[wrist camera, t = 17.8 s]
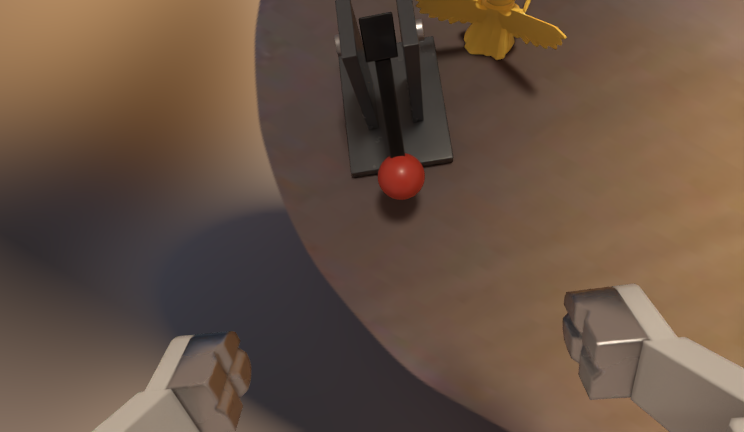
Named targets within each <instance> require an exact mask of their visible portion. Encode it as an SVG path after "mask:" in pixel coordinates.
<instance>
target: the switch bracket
mask: <svg viewBox="0 0 744 432" xmlns="http://www.w3.org/2000/svg"><path fill="white" fill-rule="evenodd" d="M396 2H397V10H398V18H399V26H400V34H401V41H402V42H399V43H396V44H397V50H398V57H395V58H390V59H391V64H392V70H393V77H394V84H395V90H396V97H397V103H398V110H399V117H400V123H401V130H402V137H403V143H404V150H405V153H407V154H410V155H412V156H414V157H415V158H417V159H418V160H419V161H420V163H421V164H422V166H423V167H424V166H430V165H437V164H443V163H449V162H453V153H452V147H451V141H450V135H449V129H448V123H447V117H446V111H445V105H444V99H443V93H442V87H441V81H440V75H439V69H438V62H437V56H436V50H435V44H434V38H433V36H431V37H425V38H424V30H423V23H422V19H416V20H415V15H414V9H413V2H412V0H396ZM335 3H336V13H337V22H338V31H339V35H335V37H334V39H335V46H336V51H337V54H338V56H339V66H340V75H341V84H342V93H343V102H344V112H345V121H346V130H347V139H348V148H349V158H350V167H351V174H352V175H353V177H359V176H366V175H372V174H378V171H379V168H380V165H381V164H382V162H383V161H384V160H385V159H386V158H387V157H389V156H390V151H389V145H388V139H387V133H386V127H385V121H384V115H383V109H382V103H381V97H380V91H379V84H378V78H377V72H376V66H375V61H374V62H368V63H367V62H366V59H365V53H364V47H363V44H362V40H361V36H360V33H359V29H358V26H357V22H356V18H355V15H354V11H353V8H352V4H351V0H336V1H335Z"/></svg>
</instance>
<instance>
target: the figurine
mask: <svg viewBox="0 0 744 432" xmlns="http://www.w3.org/2000/svg"><path fill="white" fill-rule="evenodd" d="M416 1H419V2H418V4H417V5H416V7H418V8H421V9H420V11H419V12H420V13H422V14H425V13H427V14H429V17H430V18H435V17H438V20H439V21H444V20H446V19H449V20H448V21H449V22H450V23H449V24H452V23H455V22H457V21H459V20H460V22H461V23H466V22H470V23H471V25H470V26H469V27H468V29H467V31H466V32H465V36H464V41H465V42H466V44H465V46H464V47H465V48H466V50H467V51H468V52H469V53H470V54H483V55H485V56H492V57H493V58H495V59H496V60H499V59H503V58H504V57H505V54H506V53H508V52H509V50H510V49H511V47H512V46H513V44H514V43H515V42H514V37H516V38H520V37H521V38H522V40H523V41H524V42H525V44H528V43H529V42H530V41H531V43H532V44H533V45H534V46H536V47H538V46H539V44H540V45H541V46H542V47H543V48H545V49H547V46H550V47H552V48H553V49H557V45H562V41H561V39H566V38H567V37H566V35H565V34H564V33H563V32H562V31H561V30H559V29H558V28H557V27H556V26H554V25H551V24H549V23H546V22H544V21H541V20H539V19H536V18H534V17H531V16H529V15H526V14H525V12H526V10H527V8H528V6H529V3H530V1H531V0H526V3H525V6H524V8H523V9H520V8H519V6H518V5H517V4H516V3H514V1H515V0H416Z"/></svg>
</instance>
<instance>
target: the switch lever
mask: <svg viewBox="0 0 744 432" xmlns="http://www.w3.org/2000/svg"><path fill="white" fill-rule="evenodd" d="M359 24H360V30H361V36H362V42H363V47H364V53H365V59H366V62H367V63H368V62H374V61H375V66H376V72H377V78H378V84H379V91H380V97H381V103H382V109H383V115H384V121H385V127H386V133H387V139H388V145H389V151H390V156H389V157H387V158H386V159H385V160H384V161H383V162H382V164H381V165H380V168H379V171H378V182H379V185H380V187H381V189H382V191H383V192H384V193H385V194H386V195H388V196H389V197H391V198H393V199H397V200H405V199H409V198H411V197H413V196H415V195H416V194H417V193H418V192H419V191H420V190H421V188H422V186H423V184H424V179H425V173H424V169H423V166H422V164H421V163H420V161H419V160H418V159H417V158H415V157H414V156H412V155H410V154H407V153H405V150H404V143H403V137H402V130H401V123H400V117H399V110H398V103H397V97H396V90H395V84H394V77H393V70H392V64H391V59H390V58H395V57H398V50H397V44H396V37H395V30H394V23H393V16H392V12H387V13H382V14H377V15H372V16H367V17H362V18H359Z"/></svg>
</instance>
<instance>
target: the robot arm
mask: <svg viewBox="0 0 744 432" xmlns="http://www.w3.org/2000/svg"><path fill="white" fill-rule="evenodd" d="M564 306H565V308H566V310H567V312H568V313H567V314H566V315H565V316H564V317H563V334H564V340H565V343H566V347H567V350H568V352H569V354H570V356H571V358H572V359H573V360H575V361H576V362H578V363H579V373H578V374H579V377H580V379H581V381H582V383H583V385H584V388H585V390H586V392H587V394H588V396H589V399H590V400H594V399H611V398H627V397H631V400H632V401H633V402H634V403H636V404H637V405H638V406H639V407H640V408H642V409H643V410H644V411H645V412H646V413H648V414H649V415H650V416H651V417H653V418H654V419H655V420H656V421H657V422H659V423H660V424H661V425H662V426H663V427H665V428H666V429H667V430H668V431H669V432H744V368H743V367H741V366H739V365H737V364H735V363H733V362H731V361H730V360H728V359H726V358H724V357H722V356H720V355H718V354H716V353H715V352H713V351H711V350H709V349H707V348H705V347H703V346H701V345H700V344H698V343H696V342H694V341H692V340H690V339H688V338H687V337H677V336H676V334H675V333H674V332H673V330H672V329H671V328H670V326H669V325H668V324H667V322H666V321H665V320H664V318H663V317H662V316H661V314H660V313H659V312H658V310H657V309H656V308H655V306H654V305H653V303H652V302H651V301H650V299H649V298H648V297H647V295H646V294H645V293H644V291H643V290H642V289H641V287H640V286H638V285H637V284H627V285H619V286H612V287H603V288H595V289H587V290H579V291H571V292H566V295H565V298H564ZM239 343H240V339H239V338H238V336H237V334H236V332H232V331H229V332H217V333H206V334H195V335H188V336H177V337H176V338H174V339H173V340H172V341H171V343H170V344H169V347H168V348H167V350H166V352H165V354H164V356H163V358H162V360H161V361H160V363H159V365H158V367H157V369H156V371H155V373H154V375H153V376H152V378H151V380H150V382H149V384H148V386H147V388H146V390H145V391H144V392H138V393H137V394H136V395H135V396H134V397H133V398H131V399H130V400H129V401H128V402H127V403H125V404H124V405H123V406H122V407H121V408H119V409H118V410H117V411H116V412H115V413H113V414H112V415H111V416H110V417H109V418H107V419H106V420H105V421H104V422H103V423H102V424H100V425H99V426H98V427H97V428H96V429H94V430H93V431H92V432H230V431H236V428H237V424H238V421H239V418H240V414H241V411H242V408H243V405H242V402H241V400H240V397H241V396H242V395H243V394H244V393H245V392H246V391H247V390H248V388H249V384H250V381H251V364H250V360H249V357H248V355H247V353H246V352H244V351H243V350H241V349H240V348H238V346H239Z"/></svg>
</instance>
